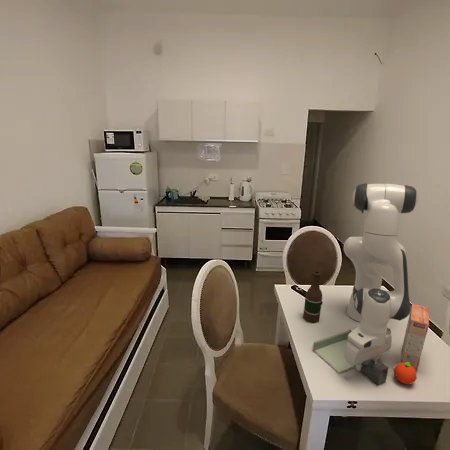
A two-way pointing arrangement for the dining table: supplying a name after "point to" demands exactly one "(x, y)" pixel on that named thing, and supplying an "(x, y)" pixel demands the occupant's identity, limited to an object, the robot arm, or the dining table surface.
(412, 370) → the clementine
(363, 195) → the robot arm
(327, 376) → the dining table surface
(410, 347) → the cracker box
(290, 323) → the dining table surface
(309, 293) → the beer bottle
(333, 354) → the tray
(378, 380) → the bracket
